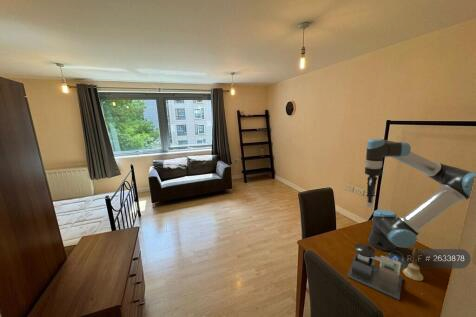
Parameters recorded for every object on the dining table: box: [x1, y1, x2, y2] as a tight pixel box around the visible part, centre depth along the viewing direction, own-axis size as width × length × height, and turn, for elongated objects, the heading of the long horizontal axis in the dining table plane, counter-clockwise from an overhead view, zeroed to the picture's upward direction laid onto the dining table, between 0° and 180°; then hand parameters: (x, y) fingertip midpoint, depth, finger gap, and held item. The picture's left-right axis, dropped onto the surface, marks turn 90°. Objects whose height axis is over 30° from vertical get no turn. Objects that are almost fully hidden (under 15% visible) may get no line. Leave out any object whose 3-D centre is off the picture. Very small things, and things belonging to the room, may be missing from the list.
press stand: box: [346, 251, 403, 301], centre depth 103 cm, size 16×22×14 cm
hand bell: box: [402, 247, 424, 282], centre depth 104 cm, size 8×8×16 cm
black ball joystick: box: [354, 243, 394, 266], centre depth 103 cm, size 9×17×9 cm, turn 47°
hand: (369, 206), depth 114 cm, fingers closed
